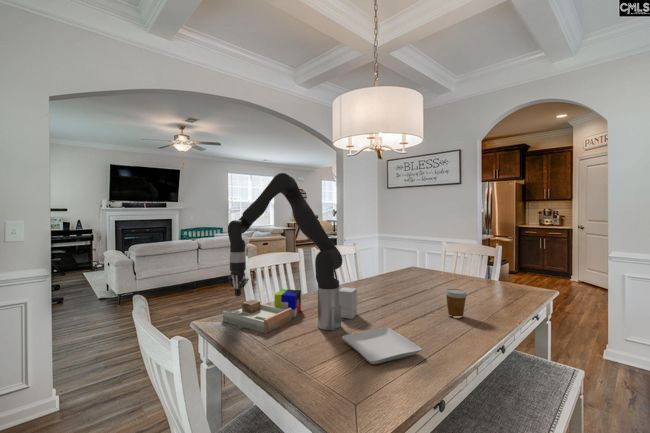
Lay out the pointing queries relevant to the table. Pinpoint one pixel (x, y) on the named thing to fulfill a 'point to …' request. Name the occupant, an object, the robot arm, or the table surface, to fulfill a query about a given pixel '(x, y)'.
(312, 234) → the robot arm
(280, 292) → the puzzle toy
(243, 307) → the walnut block
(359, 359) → the table surface
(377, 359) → the salad plate
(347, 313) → the supplement box
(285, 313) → the box
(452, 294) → the disposable coffee cup
